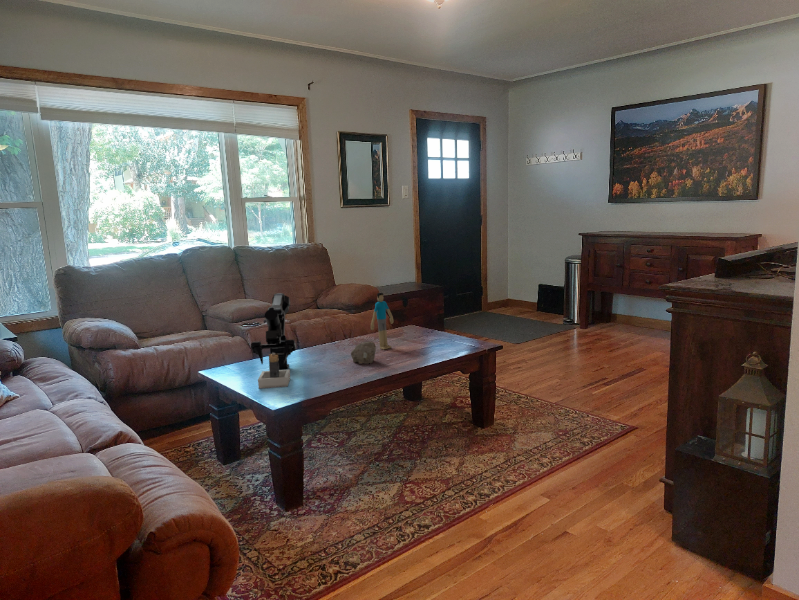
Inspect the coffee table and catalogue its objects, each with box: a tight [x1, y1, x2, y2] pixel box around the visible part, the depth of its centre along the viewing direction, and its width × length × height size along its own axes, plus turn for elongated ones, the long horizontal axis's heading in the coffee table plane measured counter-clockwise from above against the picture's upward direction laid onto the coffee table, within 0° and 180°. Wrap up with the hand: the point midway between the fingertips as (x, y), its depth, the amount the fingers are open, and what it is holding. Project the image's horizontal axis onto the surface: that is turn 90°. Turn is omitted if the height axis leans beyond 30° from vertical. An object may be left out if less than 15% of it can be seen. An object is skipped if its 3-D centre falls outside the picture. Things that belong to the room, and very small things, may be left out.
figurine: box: [370, 292, 394, 350], centre depth 284 cm, size 16×6×30 cm, turn 135°
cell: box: [268, 352, 280, 378], centre depth 233 cm, size 4×4×13 cm
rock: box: [350, 341, 377, 365], centre depth 261 cm, size 14×10×8 cm
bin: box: [257, 369, 291, 389], centre depth 235 cm, size 12×12×4 cm
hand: (272, 363), depth 232 cm, fingers open, 9 cm apart
